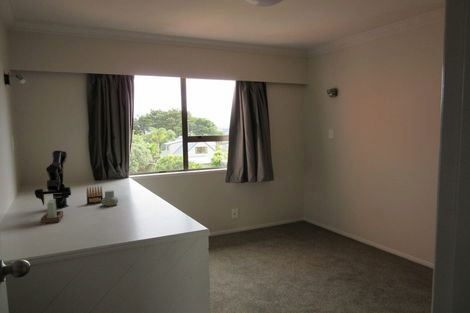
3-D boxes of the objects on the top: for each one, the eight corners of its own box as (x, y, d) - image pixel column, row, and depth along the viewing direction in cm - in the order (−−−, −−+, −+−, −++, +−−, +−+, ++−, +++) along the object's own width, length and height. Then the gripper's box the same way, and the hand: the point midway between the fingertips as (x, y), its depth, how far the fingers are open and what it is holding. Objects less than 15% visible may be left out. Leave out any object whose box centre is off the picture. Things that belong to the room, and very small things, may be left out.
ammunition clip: (86, 204, 231) (85, 187, 230) (86, 203, 233) (85, 187, 232) (103, 202, 236) (102, 186, 235) (103, 202, 237) (102, 185, 236)
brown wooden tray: (46, 217, 198) (46, 212, 198) (63, 215, 202) (63, 210, 201) (41, 224, 184) (40, 219, 183) (59, 222, 187) (59, 217, 186)
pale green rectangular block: (51, 216, 196) (49, 199, 195) (56, 215, 197) (55, 199, 196) (48, 220, 188) (47, 203, 187) (54, 219, 189) (53, 202, 188)
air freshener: (100, 207, 222) (99, 192, 221) (102, 204, 230) (101, 190, 229) (118, 205, 224) (117, 191, 224) (118, 203, 232) (118, 189, 232)
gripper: (33, 175, 194) (31, 198, 184) (69, 173, 200) (68, 195, 191) (37, 186, 202) (35, 208, 192) (71, 184, 208) (70, 205, 199)
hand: (52, 204), depth 193 cm, fingers open, 9 cm apart
